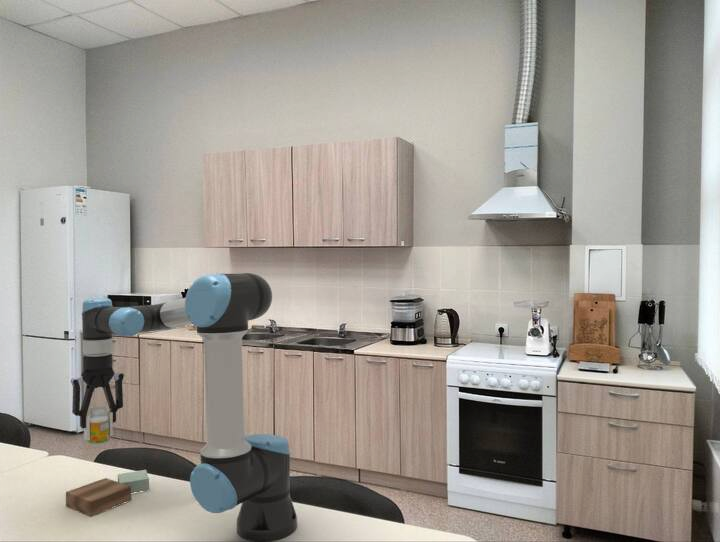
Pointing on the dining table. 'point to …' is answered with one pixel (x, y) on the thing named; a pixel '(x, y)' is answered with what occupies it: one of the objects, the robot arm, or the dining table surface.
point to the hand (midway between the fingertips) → (98, 436)
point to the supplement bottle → (99, 426)
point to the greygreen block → (135, 480)
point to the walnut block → (98, 496)
